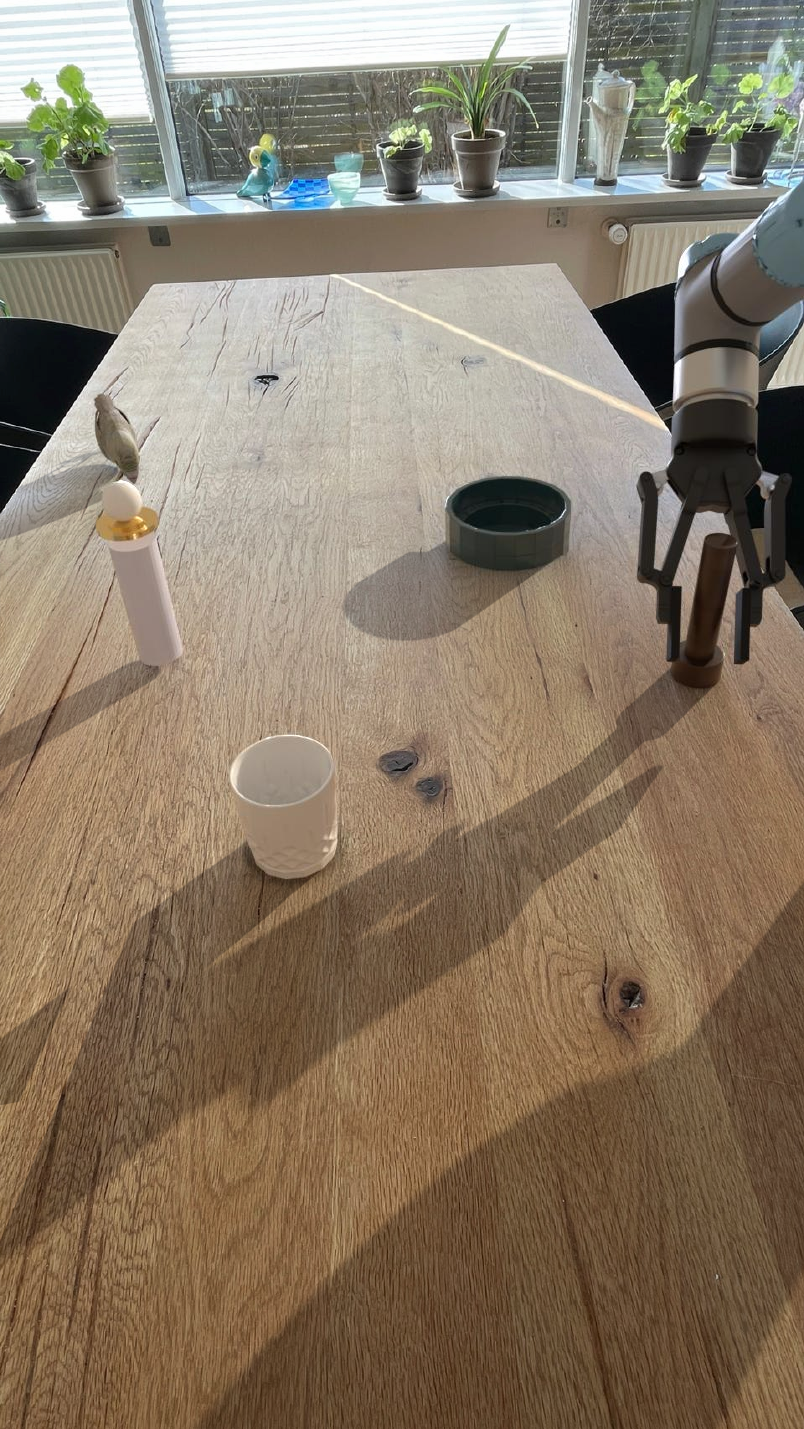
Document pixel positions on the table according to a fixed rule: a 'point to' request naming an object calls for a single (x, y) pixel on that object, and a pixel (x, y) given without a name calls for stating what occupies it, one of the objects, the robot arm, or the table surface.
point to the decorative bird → (116, 437)
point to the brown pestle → (706, 615)
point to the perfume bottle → (140, 573)
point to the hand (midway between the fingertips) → (706, 660)
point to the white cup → (287, 804)
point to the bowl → (508, 523)
